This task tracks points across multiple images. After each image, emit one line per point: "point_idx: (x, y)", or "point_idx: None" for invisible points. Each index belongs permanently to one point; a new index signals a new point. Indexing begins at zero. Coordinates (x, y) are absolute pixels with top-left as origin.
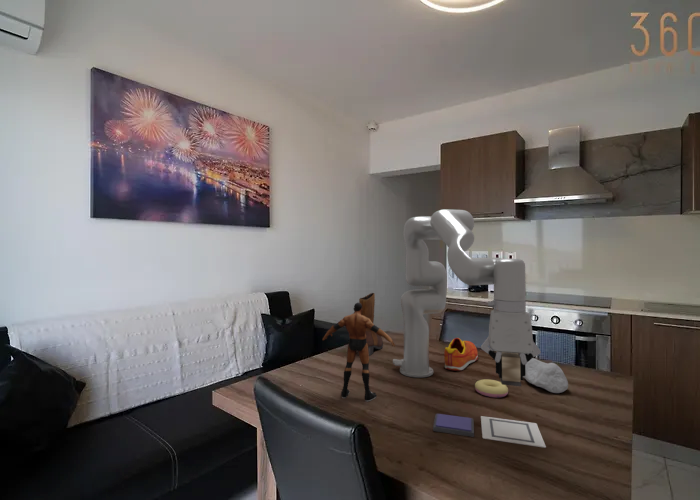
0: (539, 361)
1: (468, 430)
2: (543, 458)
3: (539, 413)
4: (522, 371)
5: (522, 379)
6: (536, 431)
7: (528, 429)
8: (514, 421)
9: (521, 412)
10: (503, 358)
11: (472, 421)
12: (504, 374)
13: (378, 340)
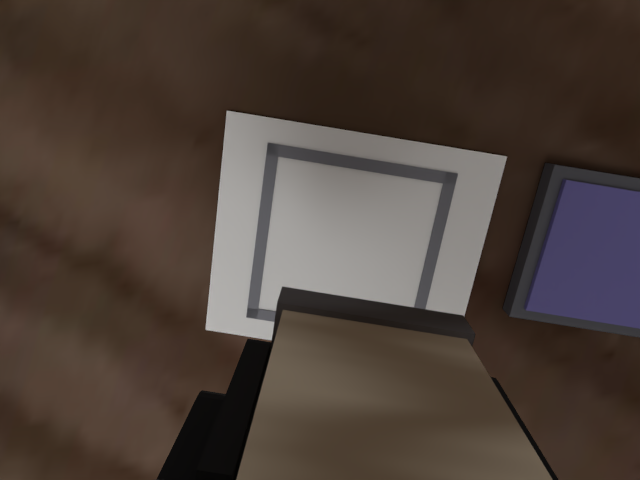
0: None
1: (579, 182)
2: (268, 9)
3: (164, 427)
4: (230, 396)
5: (252, 340)
6: (227, 252)
7: (260, 262)
8: None
9: None
10: None
11: (524, 284)
12: (462, 374)
13: None
